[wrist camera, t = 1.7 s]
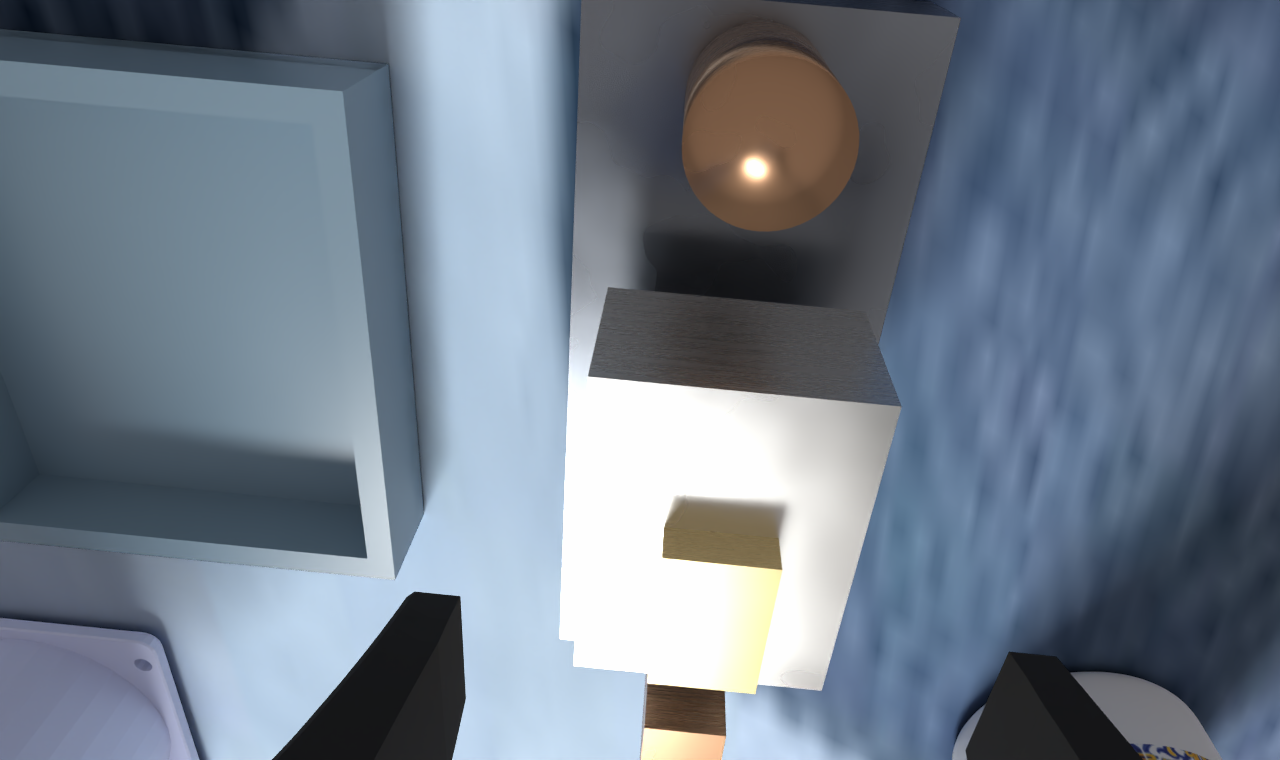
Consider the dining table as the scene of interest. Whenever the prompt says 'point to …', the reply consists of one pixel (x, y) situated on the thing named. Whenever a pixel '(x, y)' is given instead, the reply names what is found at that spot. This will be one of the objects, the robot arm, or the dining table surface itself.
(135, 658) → the robot arm
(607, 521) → the white yellow block
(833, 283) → the hand plane
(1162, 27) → the dining table surface
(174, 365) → the tray
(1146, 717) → the bath foam
